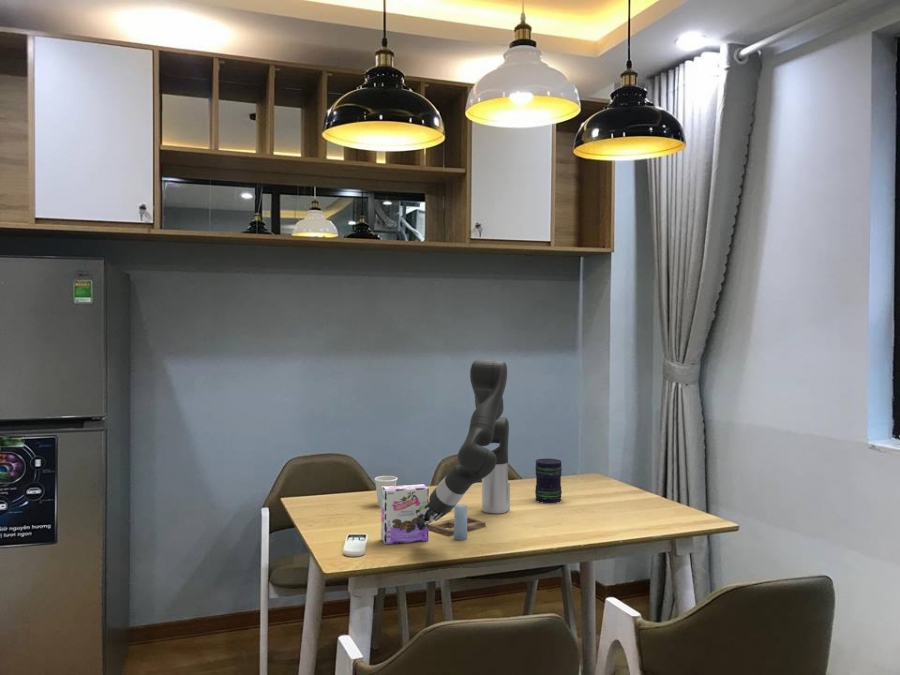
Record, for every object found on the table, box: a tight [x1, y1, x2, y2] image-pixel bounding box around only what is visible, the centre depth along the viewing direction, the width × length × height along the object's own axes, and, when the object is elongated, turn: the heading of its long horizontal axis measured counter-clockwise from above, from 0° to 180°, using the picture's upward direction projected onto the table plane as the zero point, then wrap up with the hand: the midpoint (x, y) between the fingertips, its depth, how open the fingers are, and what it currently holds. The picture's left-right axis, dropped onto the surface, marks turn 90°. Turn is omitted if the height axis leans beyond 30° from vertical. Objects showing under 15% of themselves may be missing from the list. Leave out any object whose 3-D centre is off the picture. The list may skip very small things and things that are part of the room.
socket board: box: [428, 516, 486, 537], centre depth 230 cm, size 16×10×2 cm, turn 133°
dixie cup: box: [374, 475, 398, 508], centre depth 259 cm, size 8×8×10 cm
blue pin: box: [453, 503, 468, 541], centre depth 218 cm, size 4×4×10 cm
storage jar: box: [534, 458, 563, 504], centre depth 267 cm, size 10×10×15 cm
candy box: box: [380, 483, 430, 545], centre depth 216 cm, size 14×6×16 cm, turn 106°
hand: (420, 527), depth 211 cm, fingers closed
